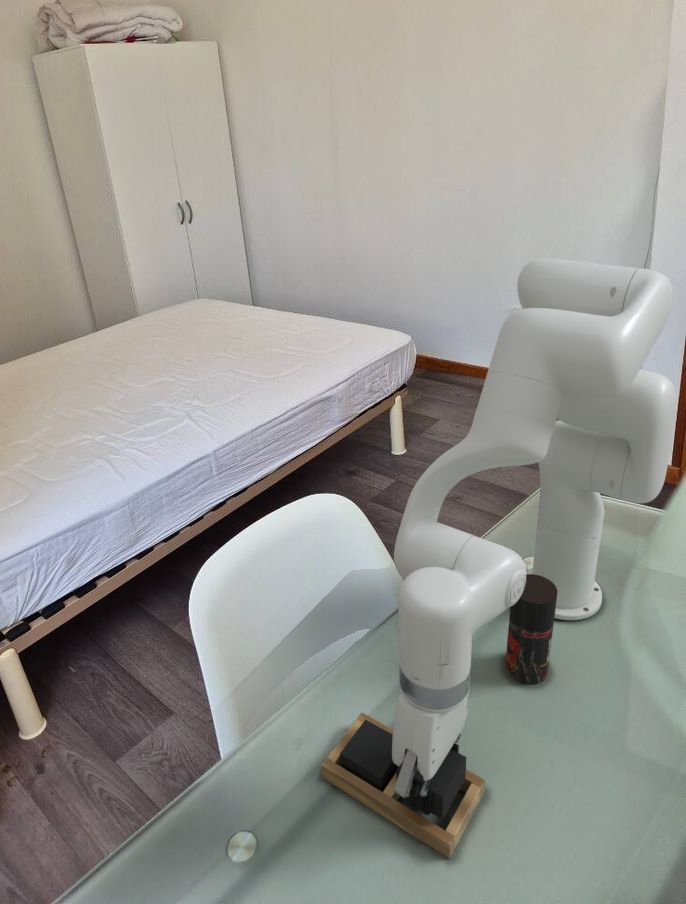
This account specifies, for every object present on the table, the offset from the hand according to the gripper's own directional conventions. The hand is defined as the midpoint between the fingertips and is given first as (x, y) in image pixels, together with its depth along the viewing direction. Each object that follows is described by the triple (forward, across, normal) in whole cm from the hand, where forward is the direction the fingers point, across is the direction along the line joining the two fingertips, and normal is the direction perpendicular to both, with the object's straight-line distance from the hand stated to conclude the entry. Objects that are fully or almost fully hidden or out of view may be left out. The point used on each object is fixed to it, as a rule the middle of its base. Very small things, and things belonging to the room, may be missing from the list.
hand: (431, 783), depth 81 cm
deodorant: (+4, -26, +2) cm, 26 cm away
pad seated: (+4, 0, -8) cm, 9 cm away
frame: (+4, 0, -4) cm, 6 cm away
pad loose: (+1, 0, 0) cm, 1 cm away
